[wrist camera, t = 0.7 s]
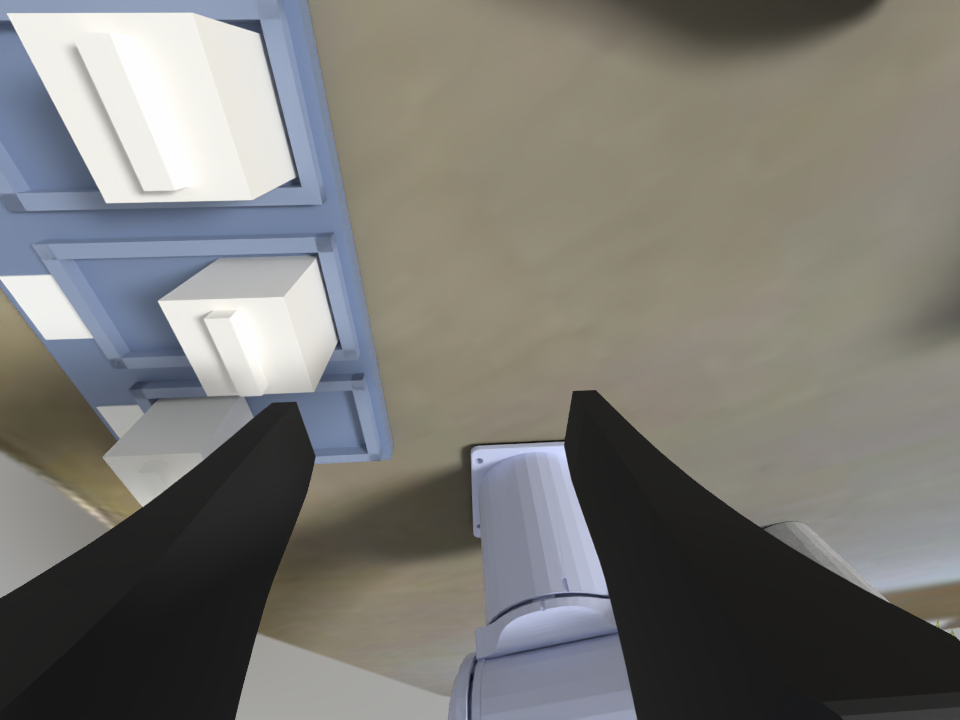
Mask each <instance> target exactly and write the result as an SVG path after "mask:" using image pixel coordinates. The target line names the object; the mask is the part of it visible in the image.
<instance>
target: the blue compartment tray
mask: <svg viewBox="0 0 960 720" xmlns="http://www.w3.org/2000/svg"><path fill="white" fill-rule="evenodd" d="M7 13H195V14H198V15H201V16H204V17H208V18H211V19H214V20H217V21H220V22H224V23H227V24H230V25H233V26H236V27H240V28H243V29H246V30H249V31H252V32H256V33H259V34H262V35H264V38H265V42H266V46H267V50H268V54H269V58H270V62H271V66H272V70H273V74H274V78H275V82H276V86H277V90H278V94H279V98H280V102H281V106H282V110H283V114H284V118H285V122H286V126H287V130H288V134H289V138H290V142H291V146H292V150H293V154H294V158H295V162H296V166H297V170H298V174H299V176H298V177H296V178H294V179H292V180H290V181H288V182H286V183H284V184H282V185H280V186H278V187H277V188H275V189H273V190H271V191H269V192H267V193H265V194H263V195H261V196H259V197H257V198H255V199H254V200H234V201H188V202H142V203H106V202H105V200H104V198H103V196H102V194H101V192H100V190H99V188H98V186H97V185H96V183H95V181H94V179H93V177H92V175H91V173H90V171H89V169H88V167H87V165H86V164H85V162H84V160H83V158H82V156H81V154H80V152H79V150H78V148H77V146H76V145H75V143H74V141H73V139H72V137H71V135H70V133H69V131H68V129H67V127H66V125H65V124H64V122H63V120H62V118H61V116H60V114H59V112H58V110H57V108H56V106H55V104H54V103H53V101H52V99H51V97H50V95H49V93H48V91H47V89H46V87H45V85H44V84H43V82H42V80H41V78H40V76H39V74H38V72H37V70H36V68H35V66H34V64H33V63H32V61H31V59H30V57H29V55H28V53H27V51H26V49H25V47H24V45H23V44H22V42H21V40H20V38H19V36H18V34H17V32H16V30H15V28H14V26H13V24H12V23H11V21H10V19H9V17H8V15H7ZM312 255H319V258H320V263H321V267H322V271H323V275H324V279H325V283H326V287H327V291H328V295H329V299H330V303H331V307H332V311H333V315H334V319H335V323H336V327H337V331H338V335H339V340H338V343H337V345H336V347H335V349H334V351H333V353H332V355H331V357H330V360H329V362H328V364H327V366H326V368H325V370H324V372H323V374H322V377H321V379H320V381H319V383H318V385H317V387H316V389H315V391H314V392H304V393H280V394H263V395H262V396H245V399H246V402H247V404H248V406H249V408H250V410H251V413H252V415H253V417H255V416H256V415H257V414H259V413H260V412H261V411H262V410H263V409H265V408H266V407H267V406H269V405H270V404H271V403H274V402H297V405H298V408H299V411H300V413H301V416H302V419H303V422H304V425H305V428H306V430H307V433H308V436H309V439H310V442H311V445H312V447H313V450H314V453H315V456H316V458H315V462H314V464H322V463H343V462H363V461H381V460H387V459H391V458H392V453H393V442H392V436H391V431H390V426H389V421H388V416H387V411H386V405H385V400H384V395H383V390H382V385H381V380H380V374H379V369H378V364H377V359H376V354H375V348H374V343H373V338H372V333H371V328H370V323H369V317H368V312H367V307H366V302H365V297H364V292H363V286H362V281H361V276H360V271H359V266H358V261H357V255H356V250H355V245H354V240H353V235H352V229H351V224H350V219H349V214H348V209H347V204H346V198H345V193H344V188H343V183H342V178H341V173H340V167H339V162H338V157H337V152H336V147H335V142H334V136H333V131H332V126H331V121H330V116H329V110H328V105H327V100H326V95H325V90H324V85H323V79H322V74H321V69H320V64H319V59H318V54H317V48H316V43H315V38H314V33H313V28H312V22H311V17H310V12H309V7H308V2H307V0H0V288H1V289H2V290H3V291H4V293H5V294H6V295H7V297H8V298H9V299H10V301H11V302H12V303H13V305H14V306H15V307H16V309H17V310H18V311H19V313H20V314H21V315H22V317H23V318H24V319H25V320H26V322H27V323H28V324H29V326H30V327H31V328H32V330H33V331H34V332H35V334H36V335H37V336H38V338H39V339H40V340H41V342H42V343H43V344H44V345H45V347H46V348H47V349H48V351H49V352H50V353H51V355H52V356H53V357H54V359H55V360H56V361H57V363H58V364H59V365H60V367H61V368H62V369H63V371H64V372H65V373H66V374H67V376H68V377H69V378H70V380H71V381H72V382H73V384H74V385H75V386H76V388H77V389H78V390H79V392H80V393H81V394H82V396H83V397H84V398H85V400H86V401H87V402H88V403H89V405H90V406H91V407H92V409H93V410H94V411H95V413H96V414H97V415H98V417H99V418H100V419H101V421H102V422H103V423H104V425H105V426H106V427H107V428H108V430H109V431H110V432H111V434H112V435H113V436H114V438H115V439H116V440H117V441H118V440H119V439H120V438H121V437H122V436H123V435H124V434H125V433H126V432H127V431H128V430H129V429H130V428H131V427H132V426H133V425H134V424H135V423H136V422H137V421H138V420H139V419H140V418H141V417H142V416H143V415H144V414H145V413H146V412H147V411H148V409H149V408H150V407H151V406H152V405H153V404H154V403H155V402H156V401H157V400H158V399H159V398H180V397H204V396H207V394H206V392H205V390H204V388H203V387H202V385H201V383H200V381H199V379H198V377H197V375H196V373H195V371H194V369H193V367H192V366H191V364H190V362H189V360H188V358H187V356H186V354H185V352H184V350H183V348H182V347H181V345H180V343H179V341H178V339H177V337H176V335H175V333H174V331H173V329H172V327H171V326H170V324H169V322H168V320H167V318H166V316H165V314H164V312H163V310H162V308H161V307H160V305H159V303H158V300H160V299H161V298H163V297H164V296H165V295H167V294H168V293H170V292H171V291H173V290H174V289H176V288H177V287H178V286H180V285H181V284H183V283H184V282H186V281H187V280H188V279H190V278H191V277H193V276H194V275H196V274H197V273H199V272H200V271H201V270H203V269H204V268H206V267H207V266H209V265H210V264H211V263H213V262H214V261H216V260H217V259H219V258H239V257H276V256H312Z"/></svg>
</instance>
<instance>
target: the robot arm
mask: <svg viewBox="0 0 960 720" xmlns="http://www.w3.org/2000/svg"><path fill="white" fill-rule="evenodd" d="M315 458H316V456H315V453H314V450H313V447H312V445H311V442H310V439H309V436H308V433H307V430H306V428H305V425H304V422H303V419H302V416H301V413H300V411H299V408H298V405H297V402H274V403H271V404H270V405H269V406H267V407H266V408H265V409H263V410H262V411H261V412H260V413H259V414H257V415H256V416H255V417H254V418H253V419H251V420H250V421H249V422H248V423H247V424H246V425H244V426H243V427H242V428H241V429H240V430H239V431H237V432H236V433H235V434H234V435H233V436H232V437H230V438H229V439H228V440H227V441H226V442H224V443H223V444H222V445H221V446H220V447H218V448H217V449H216V450H215V451H214V452H212V453H211V454H210V455H209V456H208V457H206V458H205V459H204V460H203V461H202V462H200V463H199V464H198V465H197V466H195V467H194V468H193V469H192V470H190V471H189V472H188V473H187V474H185V475H184V476H183V477H181V478H180V479H179V480H178V481H176V482H175V483H174V484H172V485H171V486H170V487H169V488H167V489H166V490H165V491H163V492H162V493H161V494H160V495H158V496H157V497H156V498H154V499H153V500H152V501H150V502H149V503H148V504H146V505H145V506H144V507H142V508H141V509H139V510H138V511H137V512H135V513H134V514H132V515H131V516H130V517H128V518H127V519H125V520H124V521H122V522H121V523H119V524H118V525H117V526H115V527H114V528H112V529H111V530H109V531H108V532H106V533H105V534H103V535H102V536H100V537H99V538H97V539H96V540H95V541H93V542H91V543H90V544H88V545H87V546H85V547H84V548H82V549H80V550H79V551H77V552H76V553H74V554H72V555H71V556H69V557H67V558H66V559H64V560H63V561H61V562H60V563H58V564H56V565H55V566H53V567H52V568H50V569H48V570H47V571H45V572H44V573H42V574H40V575H38V576H37V577H35V578H34V579H32V580H30V581H29V582H27V583H26V584H24V585H22V586H21V587H19V588H17V589H15V590H14V591H12V592H10V593H9V594H7V595H6V596H3V597H2V598H0V720H235V717H236V713H237V709H238V704H239V700H240V696H241V692H242V688H243V684H244V680H245V676H246V672H247V668H248V665H249V661H250V657H251V653H252V649H253V645H254V642H255V638H256V635H257V631H258V628H259V624H260V621H261V617H262V614H263V610H264V607H265V603H266V600H267V597H268V594H269V591H270V588H271V585H272V582H273V580H274V577H275V574H276V572H277V569H278V567H279V564H280V562H281V559H282V557H283V554H284V551H285V549H286V546H287V544H288V541H289V539H290V536H291V534H292V531H293V528H294V526H295V523H296V521H297V518H298V516H299V513H300V510H301V508H302V505H303V502H304V500H305V497H306V494H307V491H308V487H309V483H310V479H311V475H312V471H313V466H314V462H315ZM478 458H481V459H478ZM471 476H472V507H473V534H474V536H475V537H477V538H481V548H482V565H483V582H484V598H485V615H486V626H484V627H481V628H477V629H476V630H475V637H476V652H474V653H471V654H469V655H467V656H466V657H465V659H464V660H463V662H462V664H461V666H460V669H459V672H458V674H457V676H456V678H455V680H454V683H453V687H452V691H451V696H450V703H449V713H448V720H960V641H959V640H958V639H957V638H956V637H955V636H953V635H951V634H949V633H947V632H945V631H943V630H942V629H940V628H938V627H936V626H934V625H932V624H930V623H928V622H926V621H924V620H922V619H920V618H918V617H916V616H914V615H912V614H910V613H909V612H907V611H905V610H903V609H901V608H899V607H897V606H895V605H893V604H891V603H889V602H887V601H885V600H883V599H881V598H879V597H878V596H876V595H874V594H872V593H870V592H868V591H866V590H864V589H863V588H861V587H859V586H857V585H855V584H854V583H852V582H850V581H848V580H847V579H845V578H843V577H841V576H840V575H838V574H836V573H834V572H832V571H831V570H829V569H827V568H825V567H824V566H822V565H820V564H818V563H817V562H815V561H813V560H812V559H810V558H808V557H807V556H805V555H803V554H802V553H800V552H798V551H797V550H795V549H793V548H792V547H790V546H789V545H787V544H785V543H784V542H782V541H781V540H779V539H778V538H776V537H774V536H773V535H771V534H770V533H768V532H767V531H765V530H764V529H762V528H760V527H759V526H757V525H756V524H754V523H753V522H751V521H750V520H748V519H747V518H745V517H744V516H742V515H741V514H740V513H738V512H737V511H735V510H734V509H732V508H731V507H730V506H728V505H727V504H726V503H724V502H723V501H721V500H720V499H719V498H717V497H716V496H715V495H713V494H712V493H710V492H709V491H708V490H706V489H705V488H704V487H702V486H701V485H700V484H699V483H697V482H696V481H695V480H693V479H692V478H691V477H690V476H688V475H687V474H686V473H685V472H684V471H682V470H681V469H680V468H679V467H678V466H676V465H675V464H674V463H673V462H672V461H670V460H669V459H668V458H667V457H666V456H665V455H663V454H662V453H661V452H660V451H659V450H658V449H657V448H655V447H654V446H653V445H652V444H651V443H650V442H649V441H648V440H647V439H646V438H644V437H643V436H642V435H641V434H640V433H639V432H638V431H637V430H636V429H635V428H634V427H633V426H632V425H631V424H630V423H629V422H628V421H627V420H626V419H624V418H623V417H622V416H621V415H620V414H619V413H618V412H617V411H616V410H615V409H614V408H613V407H612V406H611V405H610V404H609V403H608V402H607V401H606V400H605V399H604V398H603V397H602V396H601V395H600V394H599V393H598V392H597V391H596V390H589V391H573V394H572V400H571V406H570V412H569V418H568V424H567V430H566V436H565V442H546V443H525V444H504V445H483V446H475V447H473V448H472V449H471Z"/></svg>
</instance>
